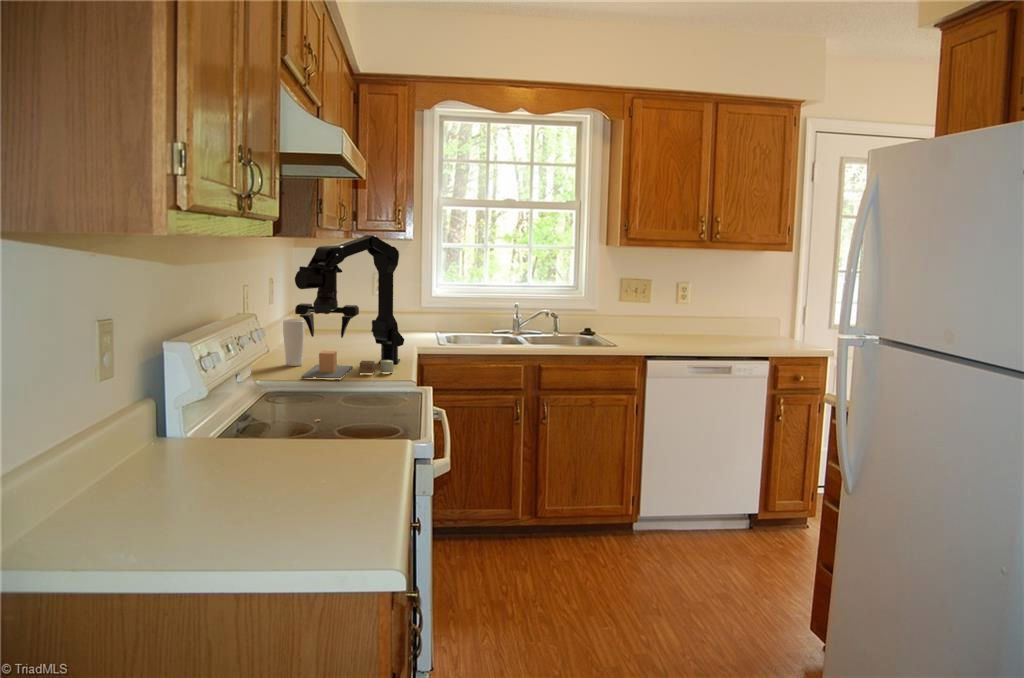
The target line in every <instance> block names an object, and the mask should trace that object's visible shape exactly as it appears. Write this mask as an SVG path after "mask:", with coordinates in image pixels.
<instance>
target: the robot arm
mask: <svg viewBox="0 0 1024 678" xmlns="http://www.w3.org/2000/svg"><path fill="white" fill-rule="evenodd" d="M364 251H367V253H368V254H369V255H370V256H372V257H373V265H374V267H375V269H376V270H377V273H378V280H377V281H378V285H377V288H378V290H377V291H378V293H377V294H378V295H377V296H378V300H377V301H378V305H377V306H378V307H377V309H378V311H377V317H376V318H375V319H372V320H371V333H372V336H373V337H374V341H375V344H376V345H377V344H378V345H380V347H381V349H380V360H378V364H381V361H382V360H392V361H393V365H394V364H395V365H397V364H399V362H401V359H400V358H399V347H401V346H403V345H404V343H405V338H404V336H403V335H402V334H401V333H400V332H399V327H398V321H397V320H396V318H395V316H394V273H395V271H396V269H397V267H398V265H399V258H400V251H399V250H398V248H397V247H395V246H392V245H391V244H389V243H387V242H385V241H384V240H382V239H381V238H379V237H378V236H376V235H375V234H374V235H372V234H365V235H363V236H361V237H359V238H356V239H353V240H349V241H346V242H344V243H340V244H338V245H323V246H319V247H316V249H315V251H314V254H313V256H312V258H311V260H310V261H309V263H308V264H307V266H299V268H298V271H296V274H295V276H294V283H295V285H296V287H297V288H298V289H299V290H310V289H317V293H316V298H315V299H314V301H313V304H312V303H299V304H297V305H296V306H295V309H294V314H295V315H299V318H303V320H304V322H305V323H306V325H307V327H308V330H309V334H310V335H311V337H313V338H314V337H315V336H314V335H315V323H314V322H315V321H314V320H315V319H314V314H315V315H319V314H324V315H329V314H343V316H341V328H340V330H341V331H340V337H341V339H343V338H344V335H345V332H346V330H347V327H348V325H349V322H350V321H351V319H353V318H354V317H357V316H358V315H359V314H360V309H359V306H358V305H356V304H355V305H354V304H345V305H344V306H341V307H339V304H338V287H337V286H338V284H337V283H338V280H337V279H338V278H337V277H338V274H337V273H343V270H342V269H341V268H340V267H339V264H342V262H344V261H345V259H346V258H348V257H350V256H353V255H356V254H358V253H362V252H364Z"/></svg>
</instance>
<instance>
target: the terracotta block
mask: <svg viewBox="0 0 1024 678" xmlns="http://www.w3.org/2000/svg"><path fill="white" fill-rule="evenodd" d="M337 352H338V351H337V350H322V351H320V352H319V353H318V365H319V372H332V373H334V372H335V371H336V370H337V365H338V359H337V355H338V354H337Z"/></svg>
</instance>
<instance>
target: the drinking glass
mask: <svg viewBox="0 0 1024 678" xmlns="http://www.w3.org/2000/svg"><path fill="white" fill-rule="evenodd" d="M282 334H283V343H284V353H285V365H286V366H288V367H299V366H302V365H303V356H304V355H303V354H304V344H305V343H304V341H305V319H302V318H288V319H287V318H286V319H283V321H282Z"/></svg>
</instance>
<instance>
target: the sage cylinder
mask: <svg viewBox="0 0 1024 678" xmlns="http://www.w3.org/2000/svg"><path fill="white" fill-rule="evenodd" d="M381 372H393V373H394V364H393V361H392V360H382V361H381V363H380V373H381Z"/></svg>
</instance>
